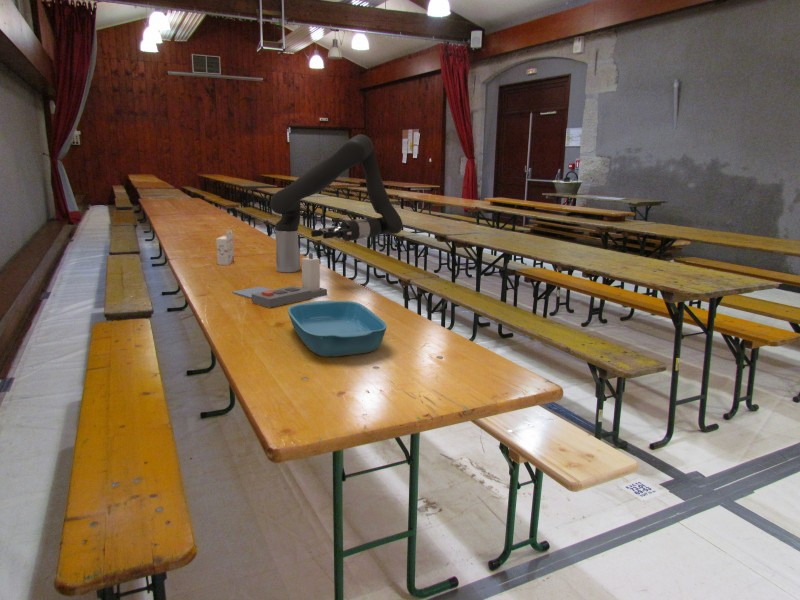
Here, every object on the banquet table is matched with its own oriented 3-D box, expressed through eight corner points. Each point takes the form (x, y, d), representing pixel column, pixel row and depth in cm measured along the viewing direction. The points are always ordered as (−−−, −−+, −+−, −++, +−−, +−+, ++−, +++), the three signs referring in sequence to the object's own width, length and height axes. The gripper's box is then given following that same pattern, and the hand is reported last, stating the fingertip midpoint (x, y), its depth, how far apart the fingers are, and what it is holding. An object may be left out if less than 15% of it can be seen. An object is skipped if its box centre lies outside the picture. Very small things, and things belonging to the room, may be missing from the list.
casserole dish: (281, 324, 167) (280, 300, 165) (353, 318, 175) (353, 296, 174) (310, 367, 134) (310, 339, 132) (398, 358, 142) (399, 331, 141)
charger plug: (311, 292, 205) (311, 251, 201) (319, 294, 202) (319, 253, 199) (302, 294, 202) (301, 252, 198) (310, 296, 199) (310, 254, 195)
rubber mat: (260, 288, 209) (259, 286, 209) (281, 293, 202) (280, 292, 202) (232, 293, 200) (232, 291, 200) (253, 299, 193) (253, 297, 192)
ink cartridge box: (223, 261, 256) (222, 229, 252) (234, 261, 256) (233, 229, 252) (217, 265, 248) (215, 231, 244) (228, 265, 248) (226, 232, 244)
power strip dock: (310, 290, 208) (310, 279, 207) (328, 294, 202) (328, 284, 201) (251, 302, 188) (251, 291, 187) (269, 308, 183) (269, 296, 182)
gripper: (344, 218, 217) (306, 223, 208) (365, 220, 206) (326, 225, 197) (345, 238, 219) (308, 243, 210) (366, 241, 208) (328, 246, 199)
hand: (317, 234), depth 203 cm, fingers open, 8 cm apart
